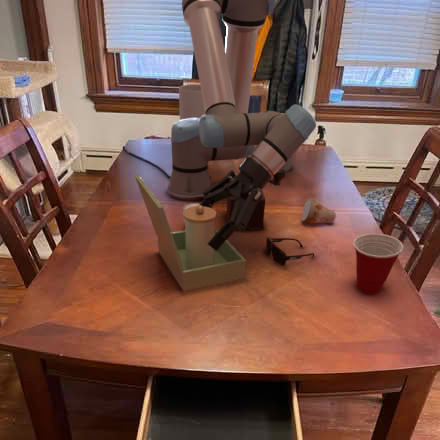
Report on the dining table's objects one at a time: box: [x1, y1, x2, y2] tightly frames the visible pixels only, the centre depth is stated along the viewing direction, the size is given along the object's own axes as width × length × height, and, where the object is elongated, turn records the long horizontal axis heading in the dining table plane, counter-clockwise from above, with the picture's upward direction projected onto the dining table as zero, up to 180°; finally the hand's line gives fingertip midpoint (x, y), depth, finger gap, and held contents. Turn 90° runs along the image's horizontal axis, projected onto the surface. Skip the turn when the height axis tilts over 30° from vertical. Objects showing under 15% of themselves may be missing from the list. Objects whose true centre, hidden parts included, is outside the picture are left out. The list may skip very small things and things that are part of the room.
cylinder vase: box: [178, 84, 206, 121], centre depth 184 cm, size 12×12×25 cm
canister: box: [182, 205, 218, 270], centre depth 111 cm, size 8×8×16 cm
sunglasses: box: [265, 236, 315, 266], centre depth 120 cm, size 10×12×5 cm
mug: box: [301, 198, 337, 224], centre depth 137 cm, size 8×10×10 cm
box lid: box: [134, 174, 184, 272], centre depth 105 cm, size 16×20×1 cm
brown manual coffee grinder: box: [225, 168, 287, 231], centre depth 133 cm, size 16×11×18 cm
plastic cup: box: [352, 233, 404, 295], centre depth 107 cm, size 11×11×12 cm
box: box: [157, 226, 247, 292], centre depth 114 cm, size 16×20×6 cm
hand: (200, 234), depth 111 cm, fingers open, 13 cm apart
